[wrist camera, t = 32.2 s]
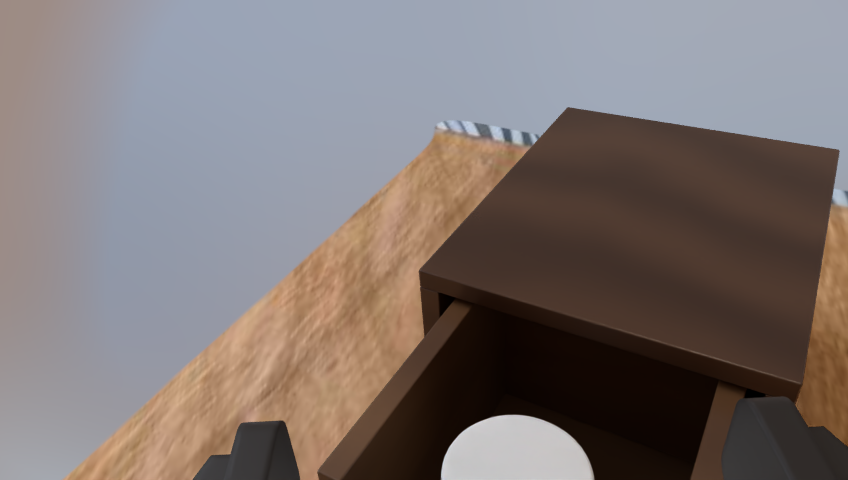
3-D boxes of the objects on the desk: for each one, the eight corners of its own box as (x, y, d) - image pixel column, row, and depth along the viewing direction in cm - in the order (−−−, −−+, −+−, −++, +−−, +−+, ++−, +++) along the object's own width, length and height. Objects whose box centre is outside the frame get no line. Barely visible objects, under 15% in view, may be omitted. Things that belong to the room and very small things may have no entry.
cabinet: (729, 583, 25) (802, 384, 19) (434, 455, 31) (418, 270, 25) (783, 327, 36) (839, 149, 30) (557, 267, 41) (567, 106, 35)
